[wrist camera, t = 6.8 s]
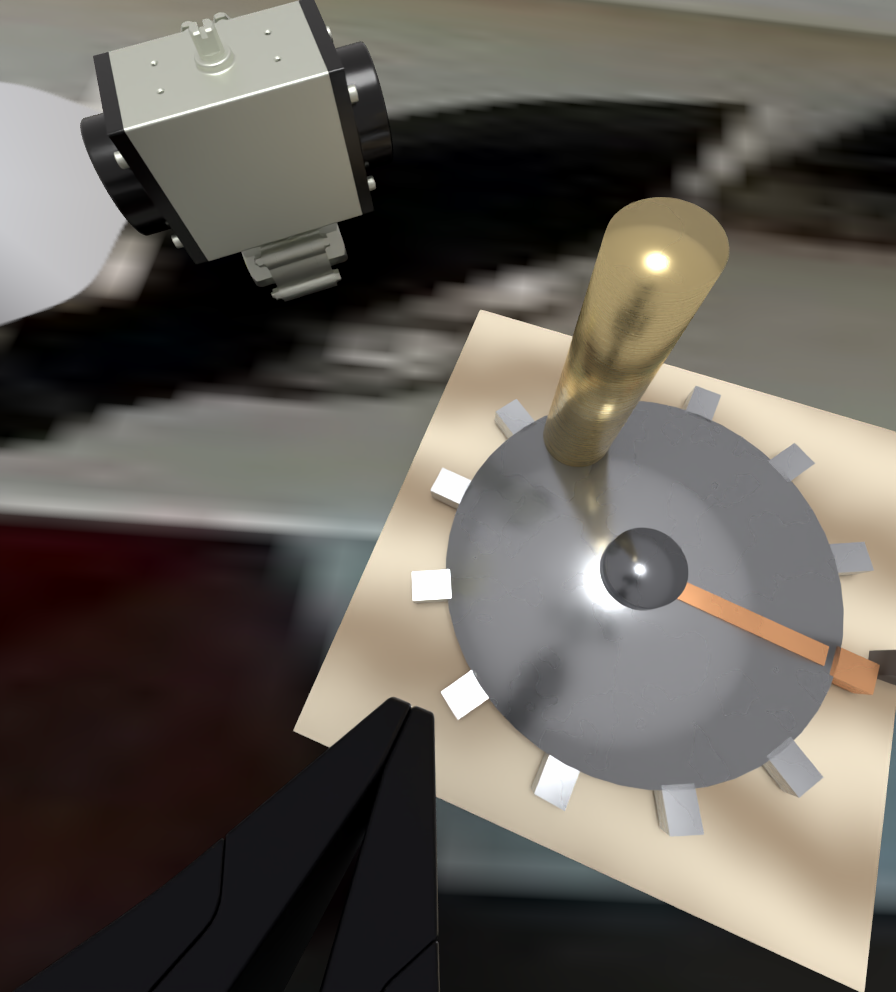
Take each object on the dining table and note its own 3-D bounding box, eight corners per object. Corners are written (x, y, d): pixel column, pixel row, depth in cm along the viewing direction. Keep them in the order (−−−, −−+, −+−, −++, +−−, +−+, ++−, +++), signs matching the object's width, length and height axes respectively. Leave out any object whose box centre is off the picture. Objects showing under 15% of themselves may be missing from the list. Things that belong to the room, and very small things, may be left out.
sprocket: (505, 898, 18) (565, 1289, 7) (369, 455, 24) (279, 266, 13) (955, 724, 19) (1649, 808, 8) (721, 342, 25) (928, 77, 14)
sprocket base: (843, 976, 18) (913, 1034, 15) (301, 727, 21) (274, 737, 18) (907, 449, 24) (965, 420, 21) (480, 321, 28) (481, 282, 25)
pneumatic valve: (412, 274, 29) (375, 20, 17) (214, 337, 28) (41, 113, 17) (384, 207, 31) (334, -64, 19) (197, 263, 30) (29, 16, 18)
